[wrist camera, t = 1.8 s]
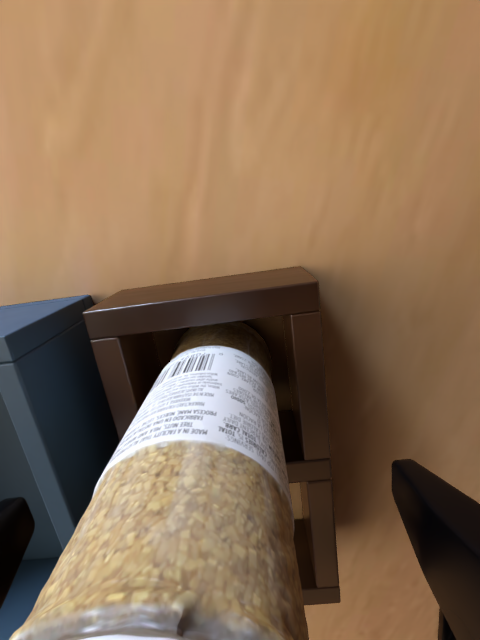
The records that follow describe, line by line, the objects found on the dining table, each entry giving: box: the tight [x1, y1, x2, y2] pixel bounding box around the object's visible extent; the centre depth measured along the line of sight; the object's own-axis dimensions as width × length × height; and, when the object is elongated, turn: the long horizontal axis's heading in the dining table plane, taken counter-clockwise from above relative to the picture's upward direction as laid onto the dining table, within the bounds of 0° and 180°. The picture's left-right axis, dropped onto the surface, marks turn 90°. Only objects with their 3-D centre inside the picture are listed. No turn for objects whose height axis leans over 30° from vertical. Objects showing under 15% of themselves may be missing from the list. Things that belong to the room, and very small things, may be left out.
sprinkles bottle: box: [9, 321, 309, 640], centre depth 9 cm, size 5×4×13 cm
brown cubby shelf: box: [83, 266, 340, 605], centre depth 14 cm, size 15×8×4 cm, turn 8°
